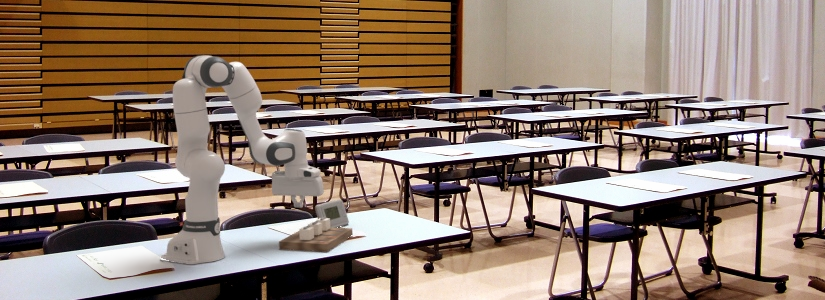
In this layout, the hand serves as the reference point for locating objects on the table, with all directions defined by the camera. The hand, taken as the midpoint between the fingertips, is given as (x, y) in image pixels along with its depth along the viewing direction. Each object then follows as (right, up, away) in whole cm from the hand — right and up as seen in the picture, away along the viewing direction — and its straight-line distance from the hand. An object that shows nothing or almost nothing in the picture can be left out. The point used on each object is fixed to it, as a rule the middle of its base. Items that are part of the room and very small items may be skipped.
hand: (298, 207), depth 320 cm
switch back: (+9, -9, +7) cm, 14 cm away
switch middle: (+7, -10, -1) cm, 12 cm away
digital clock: (+11, -10, +25) cm, 29 cm away
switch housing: (+7, -13, -1) cm, 15 cm away
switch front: (+4, -11, -9) cm, 15 cm away
